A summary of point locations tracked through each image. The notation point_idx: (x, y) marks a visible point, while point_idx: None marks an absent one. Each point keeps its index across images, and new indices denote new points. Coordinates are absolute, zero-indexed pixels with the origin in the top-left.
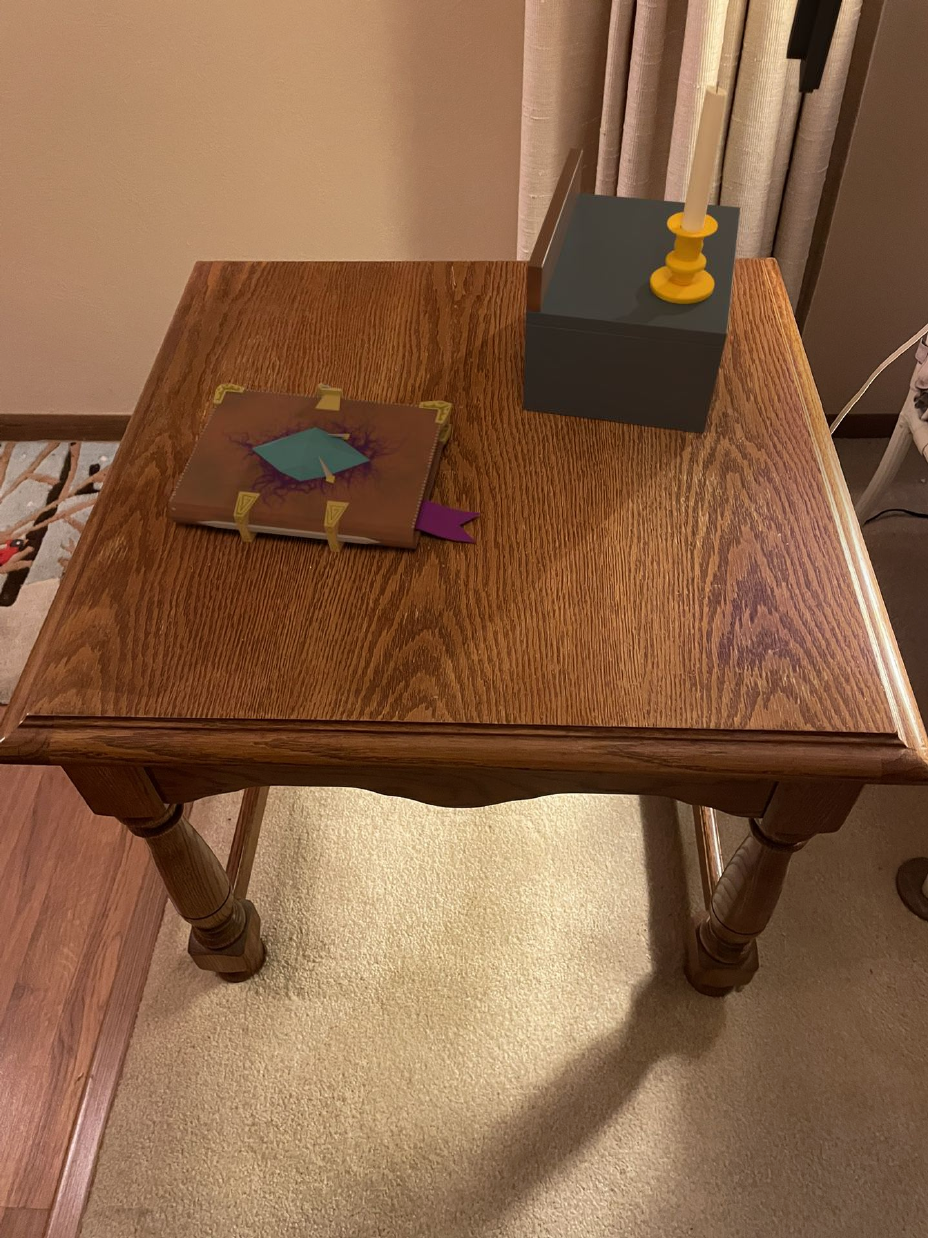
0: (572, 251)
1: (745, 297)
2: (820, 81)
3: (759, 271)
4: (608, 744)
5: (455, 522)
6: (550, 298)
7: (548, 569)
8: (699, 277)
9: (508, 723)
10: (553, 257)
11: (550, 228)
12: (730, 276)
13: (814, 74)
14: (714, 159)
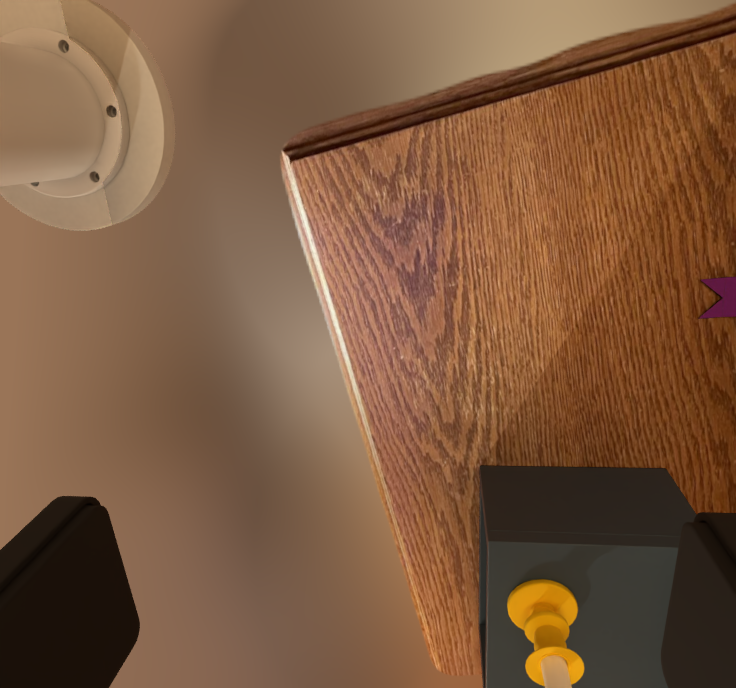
0: None
1: (454, 639)
2: (695, 532)
3: (444, 672)
4: (536, 68)
5: (727, 300)
6: None
7: (617, 265)
8: (524, 615)
9: (639, 61)
10: None
11: None
12: (490, 623)
13: (733, 537)
14: None
